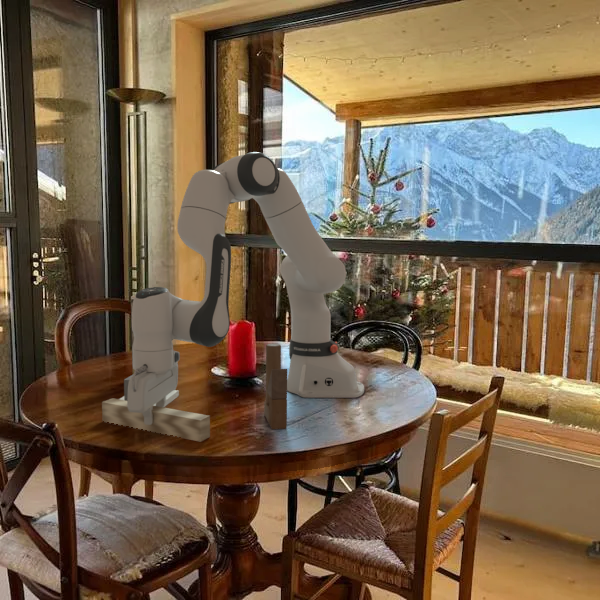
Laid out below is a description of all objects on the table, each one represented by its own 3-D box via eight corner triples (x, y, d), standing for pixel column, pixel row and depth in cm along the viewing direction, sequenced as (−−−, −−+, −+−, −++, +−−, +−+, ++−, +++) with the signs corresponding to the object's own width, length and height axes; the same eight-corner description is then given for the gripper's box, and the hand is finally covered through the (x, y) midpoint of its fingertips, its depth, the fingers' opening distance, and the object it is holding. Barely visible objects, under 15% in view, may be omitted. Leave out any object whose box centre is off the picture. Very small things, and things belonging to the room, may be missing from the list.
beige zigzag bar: (210, 437, 131) (209, 415, 131) (200, 442, 128) (200, 420, 127) (113, 418, 143) (112, 398, 143) (102, 422, 140) (101, 402, 140)
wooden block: (271, 430, 136) (272, 352, 133) (264, 415, 146) (264, 343, 144) (287, 429, 137) (288, 352, 134) (278, 414, 147) (279, 342, 145)
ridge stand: (178, 395, 162) (178, 365, 161) (152, 416, 144) (151, 382, 143) (137, 393, 164) (136, 362, 163) (105, 413, 146) (104, 379, 145)
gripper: (147, 372, 123) (148, 436, 125) (182, 351, 143) (183, 407, 145) (118, 370, 124) (120, 434, 126) (157, 350, 144) (158, 405, 146)
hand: (154, 419), depth 135 cm, fingers closed on beige zigzag bar, 4 cm apart
